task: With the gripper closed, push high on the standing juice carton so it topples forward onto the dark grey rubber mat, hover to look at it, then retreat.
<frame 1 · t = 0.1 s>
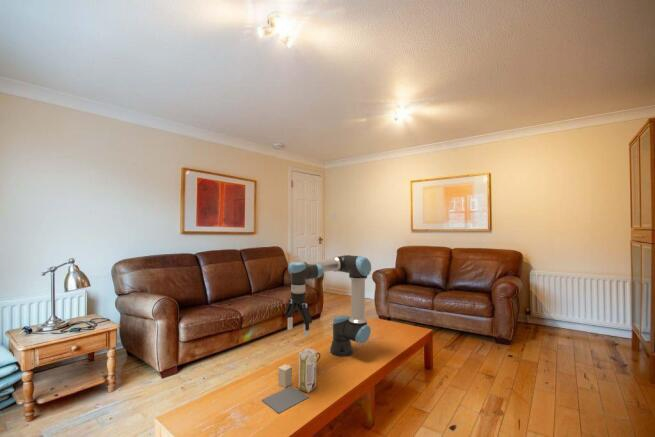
hand: (297, 332, 156), 28 cm above the table, fingers open, 13 cm apart
juice carton: (307, 388, 154), on the table
sandstone block: (285, 384, 158), on the table
coffee mug: (311, 371, 173), on the table
mat: (285, 399, 144), on the table
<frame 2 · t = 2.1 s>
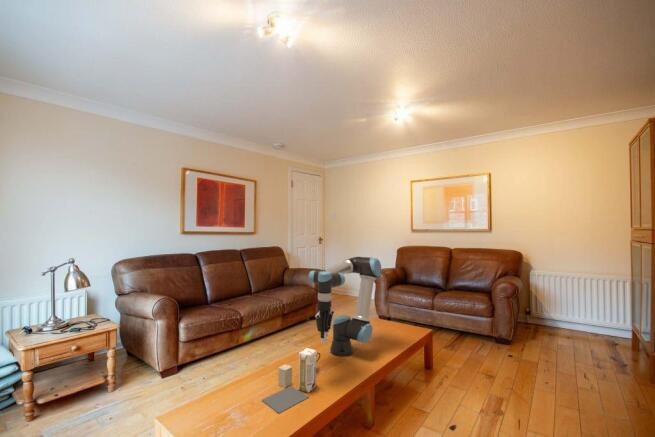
hand: (323, 343, 163), 20 cm above the table, fingers closed
nothing on the table moved.
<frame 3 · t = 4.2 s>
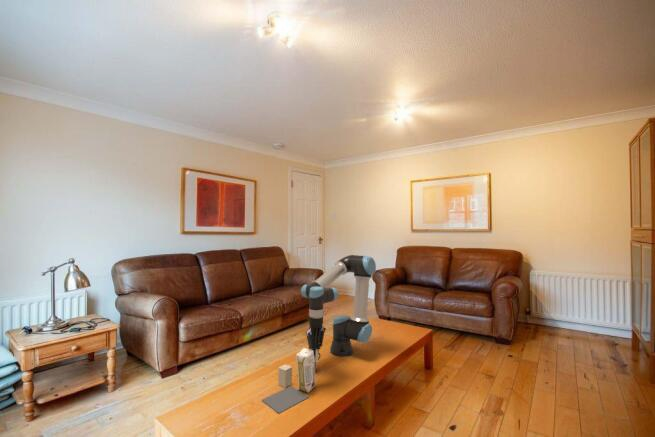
hand: (315, 361, 158), 12 cm above the table, fingers closed
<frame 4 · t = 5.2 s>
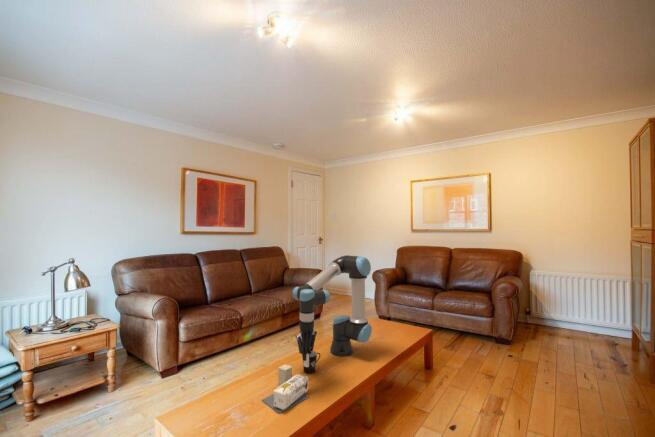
hand: (306, 366, 154), 12 cm above the table, fingers closed
juice carton: (303, 381, 152), point 5 cm above the table, touching mat
everything else where it was.
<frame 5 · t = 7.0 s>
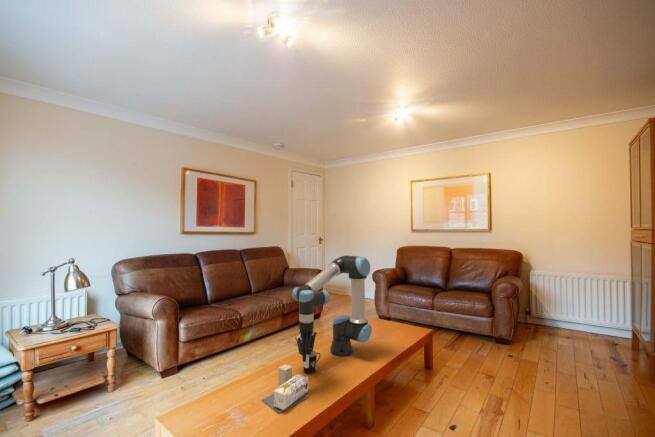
hand: (306, 366, 154), 11 cm above the table, fingers closed
nothing on the table moved.
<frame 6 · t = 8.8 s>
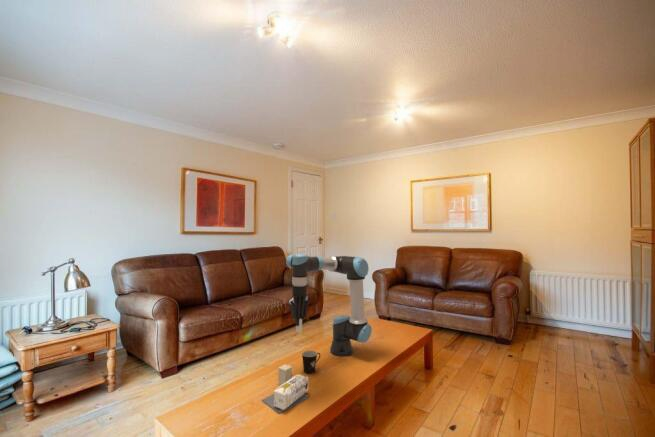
hand: (299, 331, 151), 30 cm above the table, fingers closed
nothing on the table moved.
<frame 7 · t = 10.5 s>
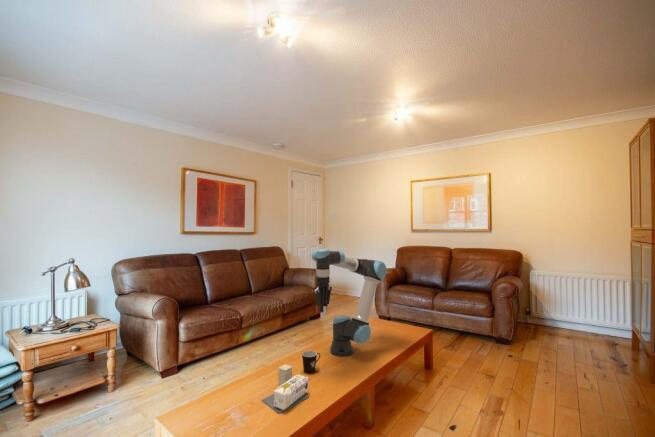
hand: (323, 317, 171), 32 cm above the table, fingers closed
nothing on the table moved.
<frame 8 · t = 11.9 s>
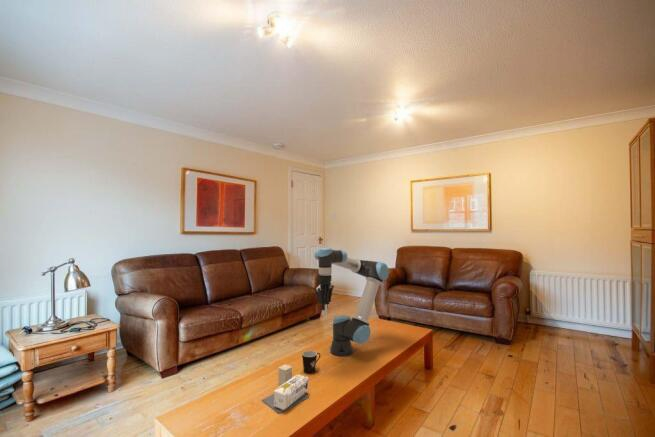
hand: (324, 315, 172), 32 cm above the table, fingers closed
nothing on the table moved.
at the end: juice carton tilted 90°; juice carton inside the target area (12.3 cm from its centre), point 4.6 cm above the table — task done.
